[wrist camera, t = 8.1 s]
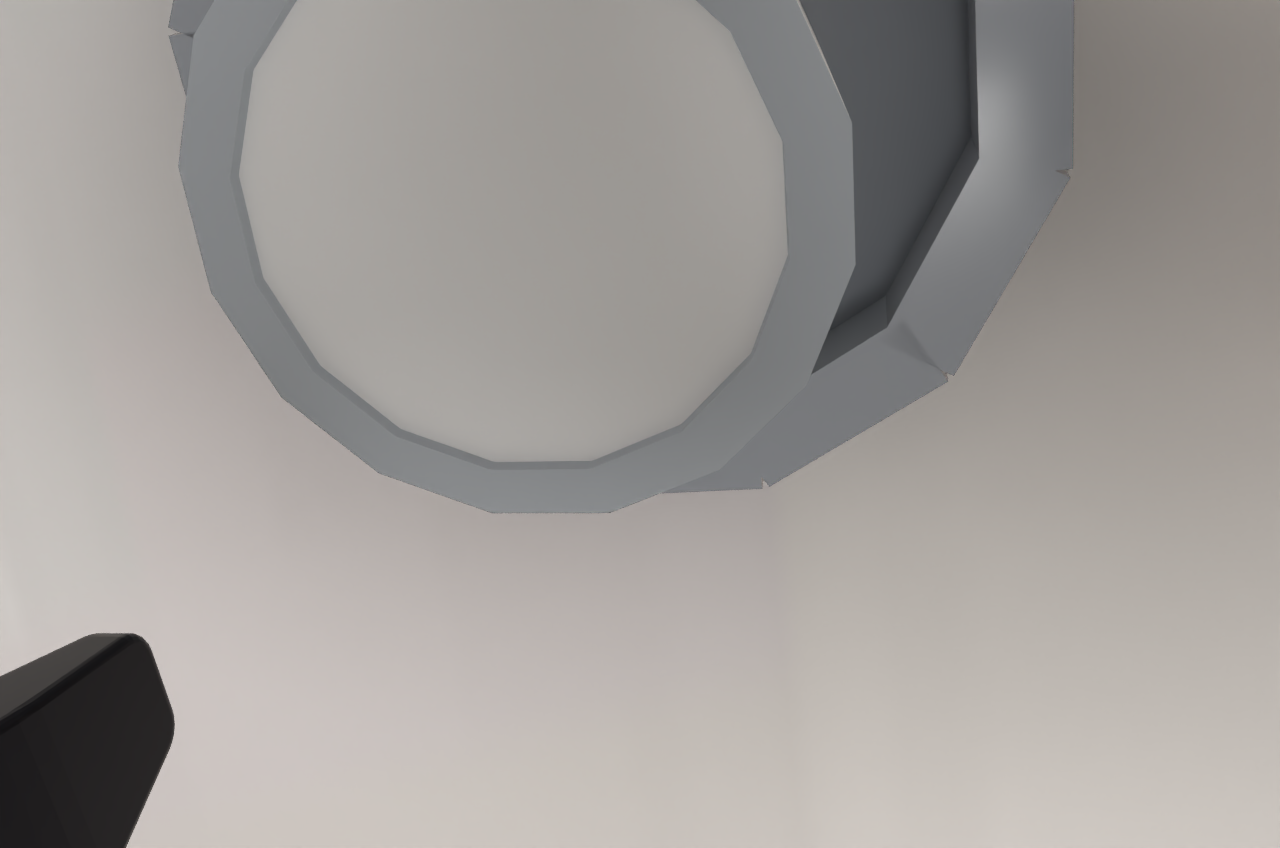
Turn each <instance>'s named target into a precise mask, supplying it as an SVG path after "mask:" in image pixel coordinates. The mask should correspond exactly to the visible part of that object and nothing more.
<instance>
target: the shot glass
mask: <svg viewBox="0 0 1280 848" xmlns="http://www.w3.org/2000/svg"><path fill="white" fill-rule="evenodd" d="M178 167H179V170H180V174H181V178H182V182H183V186H184V190H185V194H186V197H187V201H188V205H189V209H190V213H191V217H192V221H193V224H194V228H195V232H196V236H197V240H198V244H199V248H200V251H201V255H202V259H203V263H204V267H205V271H206V274H207V278H208V282H209V286H210V290H211V293H212V294H213V296H214V297H215V299H216V300H217V302H218V303H219V305H220V306H221V308H222V309H223V311H224V312H225V313H226V315H227V316H228V318H229V319H230V321H231V322H232V324H233V325H234V327H235V328H236V330H237V331H238V333H239V334H240V336H241V337H242V339H243V340H244V342H245V343H246V345H247V346H248V348H249V349H250V351H251V352H252V354H253V355H254V357H255V358H256V360H257V361H258V363H259V364H260V366H261V367H262V369H263V370H264V372H265V373H266V375H267V376H268V378H269V379H270V381H271V382H272V384H273V385H274V387H275V388H276V390H277V391H278V393H279V394H280V396H281V397H282V398H283V399H284V400H286V401H287V402H288V403H289V404H291V405H292V406H293V407H295V408H296V409H297V410H298V411H300V412H301V413H302V414H304V415H305V416H306V417H307V418H309V419H310V420H311V421H313V422H314V423H315V424H316V425H318V426H319V427H320V428H322V429H323V430H324V431H325V432H327V433H328V434H329V435H331V436H332V437H333V438H334V439H336V440H337V441H338V442H340V443H341V444H342V445H343V446H345V447H346V448H347V449H348V450H350V451H351V452H352V453H354V454H355V455H356V456H357V457H359V458H360V459H361V460H363V461H364V462H365V463H366V464H368V465H369V466H370V467H372V468H373V469H374V470H375V471H377V472H378V473H380V474H383V475H385V476H388V477H391V478H394V479H397V480H400V481H402V482H405V483H408V484H411V485H414V486H417V487H419V488H422V489H425V490H428V491H431V492H434V493H436V494H439V495H442V496H445V497H448V498H451V499H453V500H456V501H459V502H462V503H465V504H468V505H470V506H473V507H476V508H479V509H482V510H485V511H487V512H490V513H611V512H613V511H616V510H618V509H621V508H624V507H626V506H629V505H631V504H634V503H636V502H639V501H641V500H644V499H647V498H649V497H652V496H654V495H657V494H659V493H662V492H664V491H667V490H670V489H672V488H675V487H677V486H680V485H682V484H685V483H687V482H690V481H693V480H695V479H698V478H700V477H703V476H705V475H708V474H710V473H713V472H715V471H718V470H720V469H721V468H722V467H723V466H724V465H725V464H726V463H727V462H728V461H729V460H730V459H731V458H732V457H733V456H734V455H735V454H736V453H737V452H738V451H739V450H740V449H742V448H743V447H744V446H745V445H746V444H747V443H748V442H749V441H750V440H751V439H752V438H753V437H754V436H755V435H756V434H757V433H758V432H759V431H760V430H761V429H762V428H763V427H764V426H765V425H766V424H767V423H768V422H769V421H770V420H771V419H772V418H773V417H774V416H775V415H776V414H777V413H779V412H780V411H781V410H782V409H783V408H784V407H785V406H786V405H787V404H788V403H789V402H790V401H791V400H792V399H793V398H794V397H795V396H796V395H797V394H798V393H799V392H800V391H801V390H802V389H803V388H804V387H805V386H806V385H807V383H808V381H809V378H810V376H811V373H812V371H813V368H814V366H815V363H816V361H817V358H818V356H819V353H820V351H821V349H822V346H823V344H824V341H825V339H826V336H827V334H828V331H829V329H830V326H831V324H832V321H833V319H834V317H835V314H836V312H837V309H838V307H839V304H840V302H841V299H842V297H843V294H844V292H845V289H846V287H847V284H848V282H849V280H850V277H851V275H852V272H853V270H854V267H855V265H856V262H855V221H854V181H853V141H852V121H851V119H850V117H849V114H848V112H847V110H846V107H845V105H844V102H843V100H842V98H841V95H840V93H839V91H838V88H837V86H836V83H835V81H834V79H833V76H832V74H831V72H830V69H829V67H828V64H827V62H826V60H825V57H824V55H823V53H822V50H821V48H820V45H819V43H818V41H817V38H816V36H815V34H814V32H813V29H812V27H811V25H810V23H809V21H808V18H807V16H806V14H805V12H804V9H803V7H802V5H801V3H800V1H799V0H214V2H213V3H212V5H211V7H210V9H209V10H208V12H207V14H206V15H205V17H204V19H203V20H202V22H201V24H200V26H199V27H198V29H197V31H196V32H195V34H194V36H193V45H192V53H191V62H190V71H189V79H188V88H187V97H186V105H185V114H184V123H183V131H182V140H181V149H180V157H179V166H178Z"/></svg>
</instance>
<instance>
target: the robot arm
mask: <svg viewBox="0 0 1280 848" xmlns="http://www.w3.org/2000/svg"><path fill="white" fill-rule="evenodd" d="M174 726H175V723H174V714H173V710H172V707H171V704H170V702H169V699H168V696H167V693H166V690H165V687H164V684H163V682H162V679H161V676H160V673H159V670H158V667H157V664H156V662H155V659H154V656H153V653H152V650H151V648H150V646H149V644H148V643H147V642H146V641H145V640H144V639H143V638H142V637H140V636H138V635H136V634H133V633H96V634H91V635H88V636H85V637H83V638H81V639H79V640H77V641H74V642H72V643H70V644H68V645H66V646H64V647H62V648H60V649H57V650H55V651H53V652H51V653H49V654H47V655H45V656H43V657H40V658H38V659H36V660H34V661H32V662H30V663H28V664H26V665H23V666H21V667H19V668H17V669H15V670H13V671H11V672H9V673H6V674H4V675H2V676H0V848H126V846H127V844H128V842H129V839H130V837H131V835H132V833H133V830H134V828H135V826H136V824H137V821H138V819H139V817H140V815H141V812H142V810H143V808H144V805H145V803H146V801H147V799H148V796H149V794H150V792H151V790H152V787H153V785H154V783H155V781H156V778H157V776H158V774H159V772H160V769H161V767H162V765H163V763H164V760H165V758H166V756H167V754H168V751H169V749H170V747H171V744H172V740H173V736H174Z"/></svg>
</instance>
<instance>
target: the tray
mask: <svg viewBox="0 0 1280 848" xmlns="http://www.w3.org/2000/svg"><path fill="white" fill-rule="evenodd" d="M799 1H800V3H801V5H802V7H803V9H804V12H805V14H806V16H807V18H808V21H809V23H810V25H811V27H812V29H813V32H814V34H815V36H816V38H817V41H818V43H819V45H820V48H821V50H822V53H823V55H824V57H825V60H826V62H827V64H828V67H829V69H830V72H831V74H832V76H833V79H834V81H835V83H836V86H837V88H838V91H839V93H840V95H841V98H842V100H843V102H844V105H845V107H846V110H847V112H848V114H849V117H850V119H851V121H852V141H853V181H854V221H855V262H856V265H855V267H854V270H853V272H852V275H851V277H850V280H849V282H848V284H847V287H846V289H845V292H844V294H843V297H842V299H841V302H840V304H839V307H838V309H837V312H836V314H835V317H834V319H833V321H832V324H831V326H830V329H829V331H828V334H827V336H826V339H825V341H824V344H823V346H822V349H821V351H820V353H819V356H818V358H817V361H816V363H815V366H814V368H813V371H812V373H811V376H810V378H809V381H808V383H807V385H806V386H805V387H804V388H803V389H802V390H801V391H800V392H799V393H798V394H797V395H796V396H795V397H794V398H793V399H792V400H791V401H790V402H789V403H788V404H787V405H786V406H785V407H784V408H783V409H782V410H781V411H780V412H779V413H777V414H776V415H775V416H774V417H773V418H772V419H771V420H770V421H769V422H768V423H767V424H766V425H765V426H764V427H763V428H762V429H761V430H760V431H759V432H758V433H757V434H756V435H755V436H754V437H753V438H752V439H751V440H750V441H749V442H748V443H747V444H746V445H745V446H744V447H743V448H742V449H740V450H739V451H738V452H737V453H736V454H735V455H734V456H733V457H732V458H731V459H730V460H729V461H728V462H727V463H726V464H725V465H724V466H723V467H722V468H721V469H720V470H718V471H715V472H713V473H710V474H708V475H705V476H703V477H700V478H698V479H695V480H693V481H690V482H687V483H685V484H682V485H680V486H677V487H675V488H672V489H670V490H667V491H664V492H662V493H678V492H699V491H721V490H743V489H762V487H763V481H764V480H765V482H766V483H767V484H768V485H769V487H770V486H771V485H773V484H775V483H776V482H778V481H780V480H781V479H783V478H785V477H787V476H788V475H790V474H792V473H793V472H795V471H797V470H798V469H800V468H802V467H804V466H805V465H807V464H809V463H810V462H812V461H814V460H815V459H817V458H819V457H821V456H822V455H824V454H826V453H827V452H829V451H831V450H832V449H834V448H836V447H838V446H839V445H841V444H843V443H844V442H846V441H848V440H849V439H851V438H853V437H855V436H856V435H858V434H860V433H861V432H863V431H865V430H866V429H868V428H870V427H872V426H873V425H875V424H877V423H878V422H880V421H882V420H883V419H885V418H887V417H889V416H890V415H892V414H894V413H895V412H897V411H899V410H900V409H902V408H904V407H906V406H907V405H909V404H911V403H912V402H914V401H916V400H917V399H919V398H921V397H923V396H924V395H926V394H928V393H929V392H931V391H933V390H934V389H936V388H938V387H940V386H941V385H943V384H945V383H946V382H948V377H947V373H949V374H951V375H953V376H954V375H955V373H956V371H957V370H958V368H959V366H960V365H961V363H962V361H963V359H964V358H965V356H966V354H967V353H968V351H969V349H970V348H971V346H972V344H973V342H974V341H975V339H976V337H977V336H978V334H979V332H980V330H981V329H982V327H983V325H984V324H985V322H986V320H987V319H988V317H989V315H990V313H991V312H992V310H993V308H994V307H995V305H996V303H997V302H998V300H999V298H1000V296H1001V295H1002V293H1003V291H1004V290H1005V288H1006V286H1007V285H1008V283H1009V281H1010V279H1011V278H1012V276H1013V274H1014V273H1015V271H1016V269H1017V267H1018V266H1019V264H1020V262H1021V261H1022V259H1023V257H1024V256H1025V254H1026V252H1027V250H1028V249H1029V247H1030V245H1031V244H1032V242H1033V240H1034V239H1035V237H1036V235H1037V233H1038V232H1039V230H1040V228H1041V227H1042V225H1043V223H1044V222H1045V220H1046V218H1047V216H1048V215H1049V213H1050V211H1051V210H1052V208H1053V206H1054V204H1055V203H1056V201H1057V199H1058V198H1059V196H1060V194H1061V193H1062V191H1063V189H1064V187H1065V186H1066V184H1067V182H1068V181H1069V179H1070V176H1069V175H1068V173H1067V171H1066V169H1073V68H1074V0H799ZM213 2H214V0H173V6H172V11H171V16H170V21H169V26H168V27H169V28H171V29H173V30H176V31H178V32H180V33H177V34H173V35H170V36H169V38H170V42H171V45H172V49H173V52H174V56H175V59H176V63H177V66H178V70H179V73H180V77H181V80H182V84H183V87H184V91H185V94H186V97H187V88H188V79H189V71H190V62H191V53H192V45H193V36H194V34H195V32H196V31H197V29H198V27H199V26H200V24H201V22H202V20H203V19H204V17H205V15H206V14H207V12H208V10H209V9H210V7H211V5H212V3H213Z"/></svg>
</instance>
